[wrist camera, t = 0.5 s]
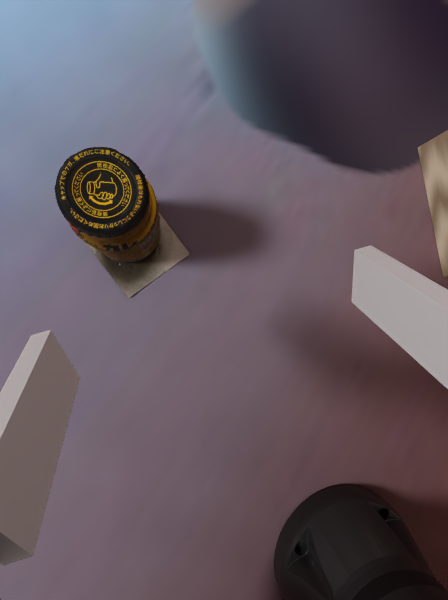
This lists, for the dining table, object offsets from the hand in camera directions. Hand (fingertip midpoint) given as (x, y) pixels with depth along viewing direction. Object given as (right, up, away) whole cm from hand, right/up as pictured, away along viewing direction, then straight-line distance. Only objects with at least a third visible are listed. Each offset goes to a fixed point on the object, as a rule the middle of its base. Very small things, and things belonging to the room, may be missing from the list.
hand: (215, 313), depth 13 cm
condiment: (-8, +6, +16) cm, 19 cm away
